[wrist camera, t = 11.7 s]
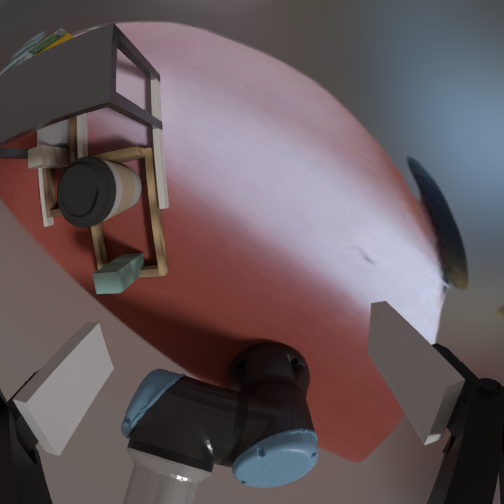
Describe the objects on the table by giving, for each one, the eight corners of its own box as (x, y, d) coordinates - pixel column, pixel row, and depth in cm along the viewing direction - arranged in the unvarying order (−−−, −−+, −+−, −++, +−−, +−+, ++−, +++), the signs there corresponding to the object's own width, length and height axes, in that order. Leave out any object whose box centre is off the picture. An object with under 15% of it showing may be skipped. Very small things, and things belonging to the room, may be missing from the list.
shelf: (162, 130, 43) (109, 101, 24) (43, 159, 43) (-31, 158, 24) (159, 74, 41) (113, 22, 22) (43, 110, 41) (-27, 93, 22)
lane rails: (169, 207, 46) (165, 208, 44) (50, 225, 46) (44, 226, 44) (159, 72, 41) (156, 68, 39) (43, 107, 41) (37, 106, 39)
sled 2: (168, 271, 48) (148, 295, 38) (106, 275, 48) (75, 298, 38) (154, 149, 44) (128, 140, 33) (90, 162, 44) (54, 159, 33)
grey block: (75, 144, 43) (60, 142, 38) (54, 151, 43) (38, 149, 38) (74, 118, 42) (59, 114, 37) (54, 125, 42) (38, 122, 37)
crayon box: (63, 80, 40) (27, 64, 29) (61, 68, 39) (27, 51, 28) (94, 62, 40) (62, 40, 28) (92, 50, 39) (61, 27, 28)
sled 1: (86, 210, 46) (57, 216, 37) (54, 216, 46) (24, 223, 37) (80, 101, 41) (52, 90, 32) (48, 112, 41) (19, 105, 33)
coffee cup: (92, 201, 46) (40, 210, 31) (113, 152, 44) (64, 144, 29) (134, 224, 47) (91, 243, 32) (157, 175, 45) (119, 173, 30)
